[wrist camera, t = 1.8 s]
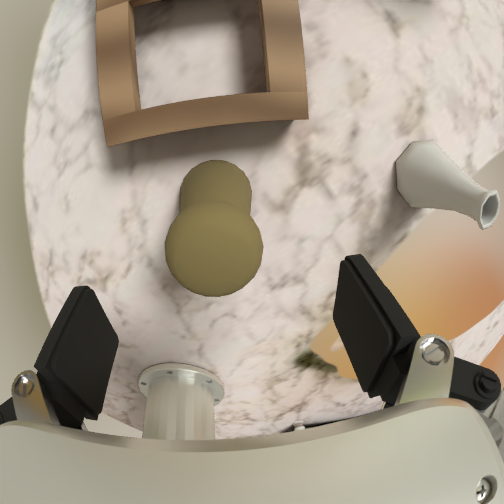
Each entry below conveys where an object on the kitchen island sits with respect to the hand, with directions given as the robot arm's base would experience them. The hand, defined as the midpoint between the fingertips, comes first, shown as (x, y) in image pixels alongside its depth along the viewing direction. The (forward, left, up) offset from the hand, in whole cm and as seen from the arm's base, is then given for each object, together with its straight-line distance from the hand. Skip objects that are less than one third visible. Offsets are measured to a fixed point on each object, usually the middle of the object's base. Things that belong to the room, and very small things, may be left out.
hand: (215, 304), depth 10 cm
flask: (0, -20, -15) cm, 25 cm away
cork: (-1, 0, -15) cm, 15 cm away
